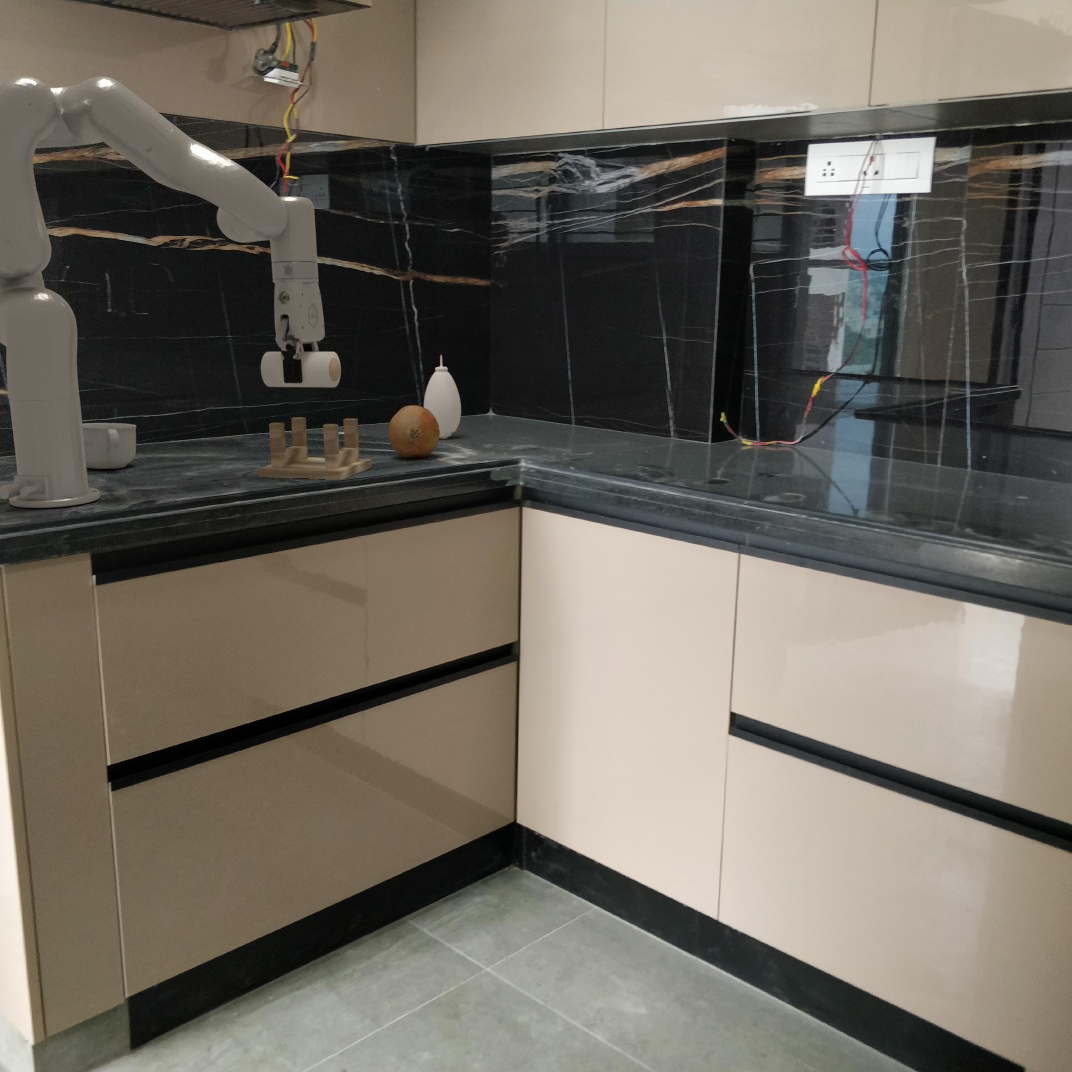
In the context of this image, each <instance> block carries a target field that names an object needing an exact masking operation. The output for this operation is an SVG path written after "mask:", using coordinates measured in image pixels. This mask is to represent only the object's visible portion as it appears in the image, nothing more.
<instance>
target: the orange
mask: <svg viewBox="0 0 1072 1072" xmlns="http://www.w3.org/2000/svg"><path fill="white" fill-rule="evenodd" d="M387 432H388V440H389V444H390V446H391V447H392V449H393V450H394V451H395V452H396V453H397V454H398V455H400V456H401V457H405V458H416V459H420V458H421V459H422V458H425V457H428V456H429V455H431V453H433V452H434V451H435V449H436V448H437V446H438V444H439V443H438V442H439V435H440V430H439V425H438V422H437V420H436V418H435V417H434V415H433V414H432V413H431V412H430V411H429V410H428V409H426V408H424V406H420V405H405V406H403V407H402V408H400V409H399V411H397V412H396V414H394V416H392V418H391V420H390V422H389V425H388V431H387Z"/></svg>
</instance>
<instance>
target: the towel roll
mask: <svg viewBox="0 0 1072 1072" xmlns="http://www.w3.org/2000/svg"><path fill="white" fill-rule="evenodd" d="M298 359H301V363H302V379H303V381H302V383H285V382H284V376H283V361H282V359H281V351H266V352H265V353H264V354H263V355H262V357H261V363H260V374H261V378H262V380H263V383H264V384H265V386H266V387H268V388H336V387H338V385H339V383H340V380H341V374H342V373H341V372H342V368H341V367H342V366H341V361H340V358H339V356H338V353H337V352H335V351H319V352H301V351H299V358H298Z"/></svg>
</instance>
